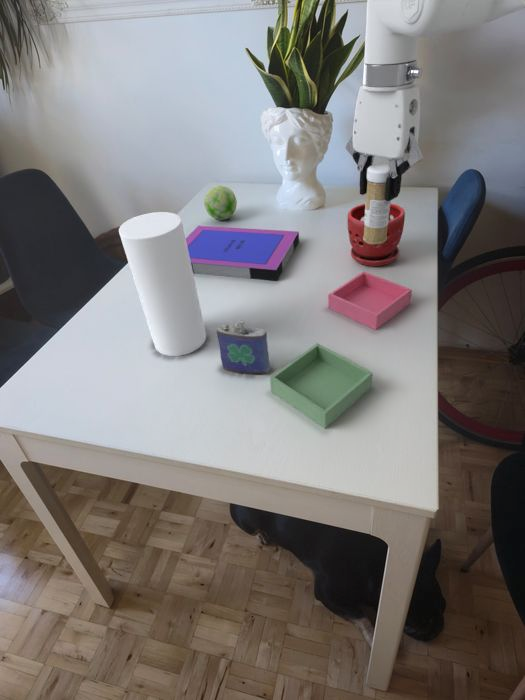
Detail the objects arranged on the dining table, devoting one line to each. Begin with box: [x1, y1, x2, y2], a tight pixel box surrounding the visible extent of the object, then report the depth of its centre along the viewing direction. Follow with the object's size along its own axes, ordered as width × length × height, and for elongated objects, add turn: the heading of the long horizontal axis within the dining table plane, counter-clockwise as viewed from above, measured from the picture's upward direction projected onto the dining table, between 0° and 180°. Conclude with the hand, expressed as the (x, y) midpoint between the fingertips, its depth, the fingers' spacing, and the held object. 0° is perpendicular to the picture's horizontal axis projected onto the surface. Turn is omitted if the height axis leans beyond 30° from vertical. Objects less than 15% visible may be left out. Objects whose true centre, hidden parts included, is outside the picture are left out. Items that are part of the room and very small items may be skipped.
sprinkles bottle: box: [363, 163, 392, 244], centre depth 79 cm, size 5×5×14 cm
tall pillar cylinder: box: [118, 211, 207, 357], centre depth 82 cm, size 11×11×25 cm
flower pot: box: [347, 203, 406, 267], centre depth 106 cm, size 13×13×12 cm
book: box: [185, 225, 300, 282], centre depth 115 cm, size 21×3×30 cm
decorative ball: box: [203, 185, 238, 221], centre depth 133 cm, size 10×10×10 cm
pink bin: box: [327, 271, 413, 331], centre depth 92 cm, size 12×12×4 cm
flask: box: [216, 319, 271, 376], centre depth 78 cm, size 9×3×11 cm, turn 74°
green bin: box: [269, 342, 374, 429], centre depth 74 cm, size 12×12×4 cm
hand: (378, 194), depth 77 cm, fingers closed on sprinkles bottle, 4 cm apart
